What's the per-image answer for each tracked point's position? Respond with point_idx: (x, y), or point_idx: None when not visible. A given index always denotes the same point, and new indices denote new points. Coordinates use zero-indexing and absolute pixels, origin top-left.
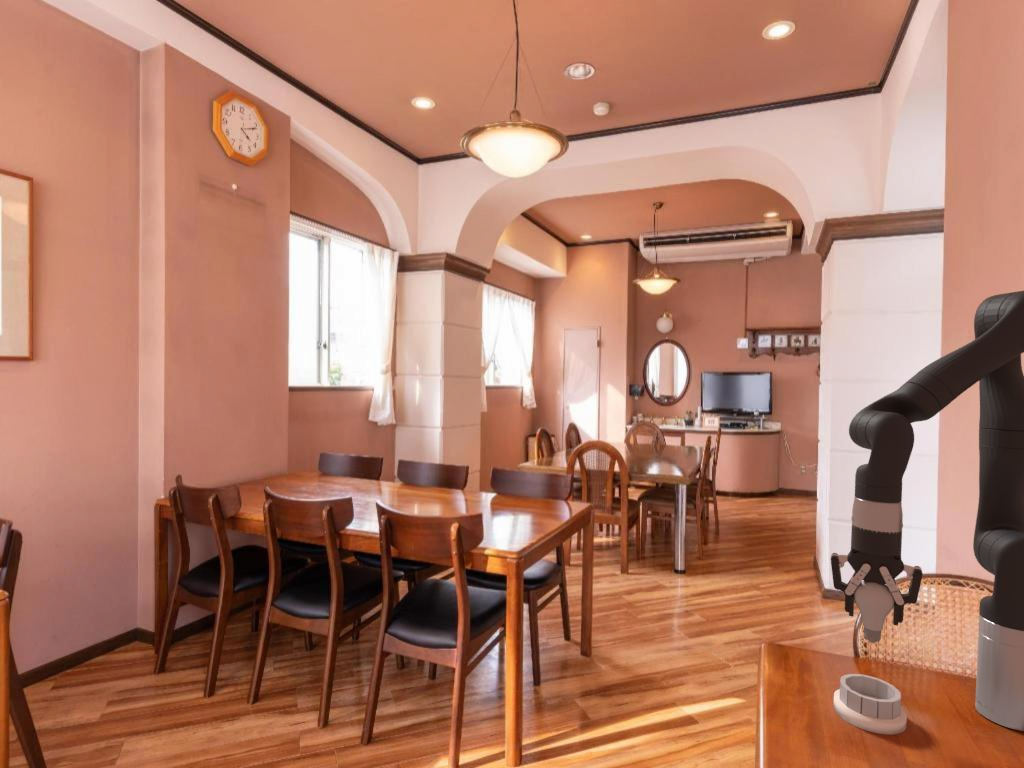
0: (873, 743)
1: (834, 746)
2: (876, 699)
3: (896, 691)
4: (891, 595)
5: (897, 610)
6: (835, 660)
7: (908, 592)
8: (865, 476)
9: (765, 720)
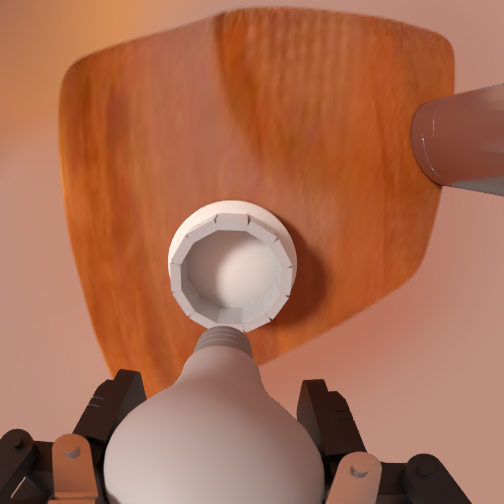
0: None
1: None
2: (241, 326)
3: (284, 268)
4: None
5: None
6: (176, 50)
7: (409, 497)
8: None
9: (101, 351)
